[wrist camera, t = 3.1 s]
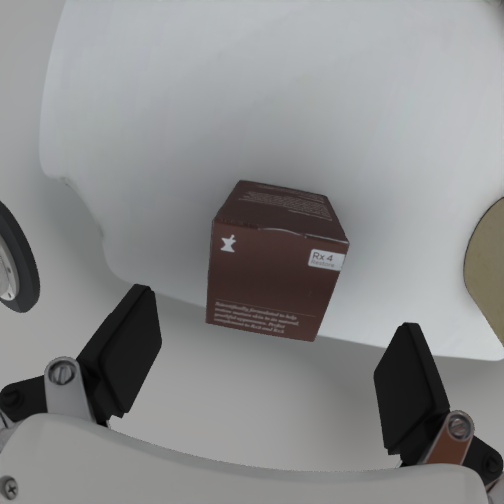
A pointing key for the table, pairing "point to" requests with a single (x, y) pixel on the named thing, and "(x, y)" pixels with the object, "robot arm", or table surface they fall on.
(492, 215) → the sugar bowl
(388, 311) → the table surface
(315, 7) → the table surface
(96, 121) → the table surface
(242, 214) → the box
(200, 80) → the table surface
